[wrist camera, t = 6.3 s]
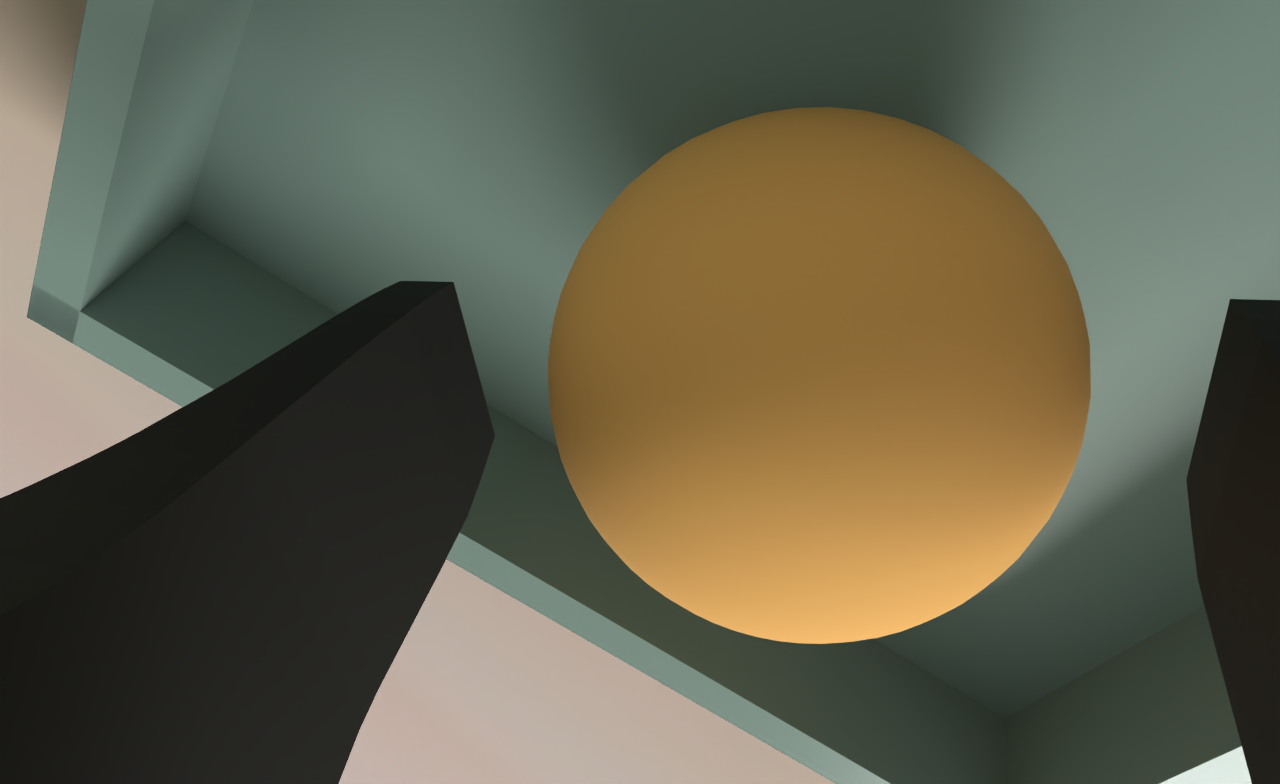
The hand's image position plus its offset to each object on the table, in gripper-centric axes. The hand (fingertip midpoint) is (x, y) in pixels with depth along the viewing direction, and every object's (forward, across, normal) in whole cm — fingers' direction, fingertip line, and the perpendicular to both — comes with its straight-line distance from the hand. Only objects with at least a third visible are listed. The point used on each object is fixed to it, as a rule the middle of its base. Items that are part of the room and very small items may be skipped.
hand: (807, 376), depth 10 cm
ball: (+2, 0, 0) cm, 2 cm away
